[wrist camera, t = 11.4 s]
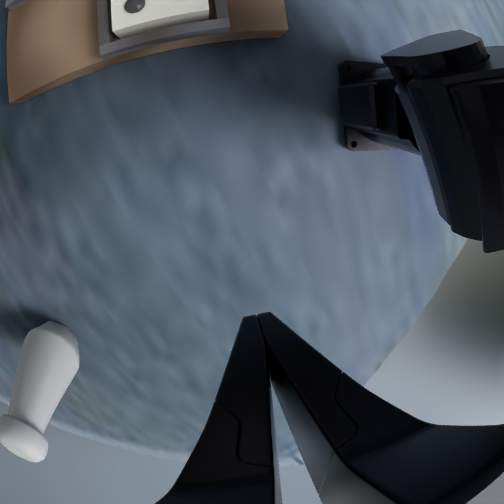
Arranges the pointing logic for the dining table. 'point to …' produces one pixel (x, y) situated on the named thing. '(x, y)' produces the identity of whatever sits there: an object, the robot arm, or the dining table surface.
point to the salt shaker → (38, 388)
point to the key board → (112, 38)
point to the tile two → (154, 15)
